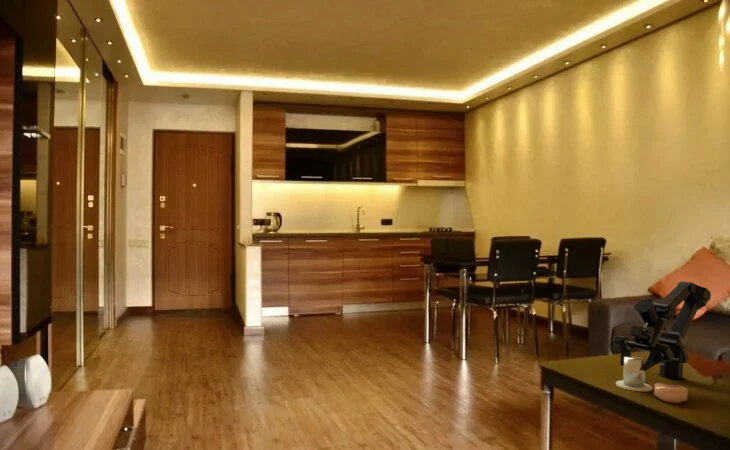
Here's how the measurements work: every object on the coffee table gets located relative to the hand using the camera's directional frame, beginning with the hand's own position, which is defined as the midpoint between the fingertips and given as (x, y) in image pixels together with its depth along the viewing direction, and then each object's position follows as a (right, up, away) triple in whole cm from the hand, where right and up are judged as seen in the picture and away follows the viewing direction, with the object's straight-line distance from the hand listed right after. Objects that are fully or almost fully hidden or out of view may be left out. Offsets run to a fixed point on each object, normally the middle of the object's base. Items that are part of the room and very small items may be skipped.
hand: (632, 367), depth 185 cm
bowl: (+6, -7, -13) cm, 16 cm away
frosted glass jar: (+1, -6, +1) cm, 6 cm away
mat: (+1, -7, +1) cm, 7 cm away
